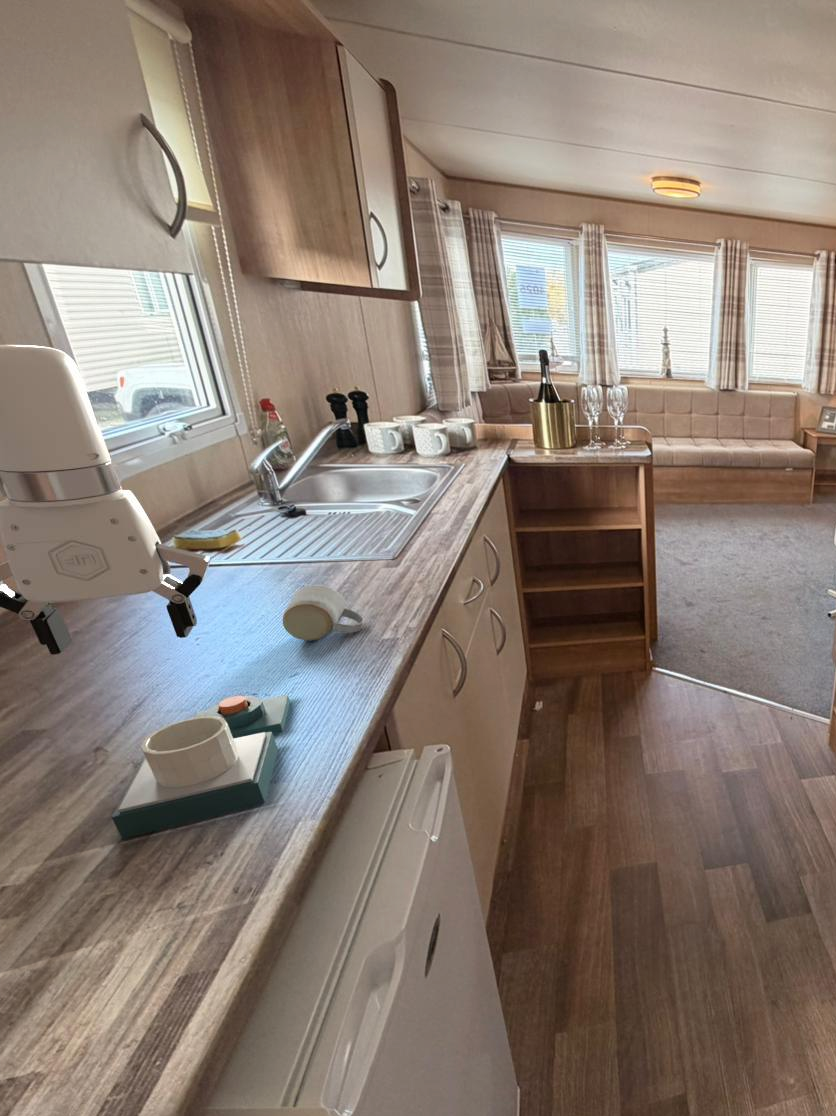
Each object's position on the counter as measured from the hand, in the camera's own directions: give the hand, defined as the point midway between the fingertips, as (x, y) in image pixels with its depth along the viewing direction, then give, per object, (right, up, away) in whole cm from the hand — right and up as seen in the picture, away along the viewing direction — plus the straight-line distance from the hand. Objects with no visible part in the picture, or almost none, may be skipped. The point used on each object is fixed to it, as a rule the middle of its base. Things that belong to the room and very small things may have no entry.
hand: (126, 640), depth 68 cm
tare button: (-3, -10, +17) cm, 20 cm away
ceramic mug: (-11, -1, +44) cm, 45 cm away
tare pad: (-3, -13, +18) cm, 22 cm away
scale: (+3, -18, +6) cm, 19 cm away
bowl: (+3, -15, +5) cm, 16 cm away
